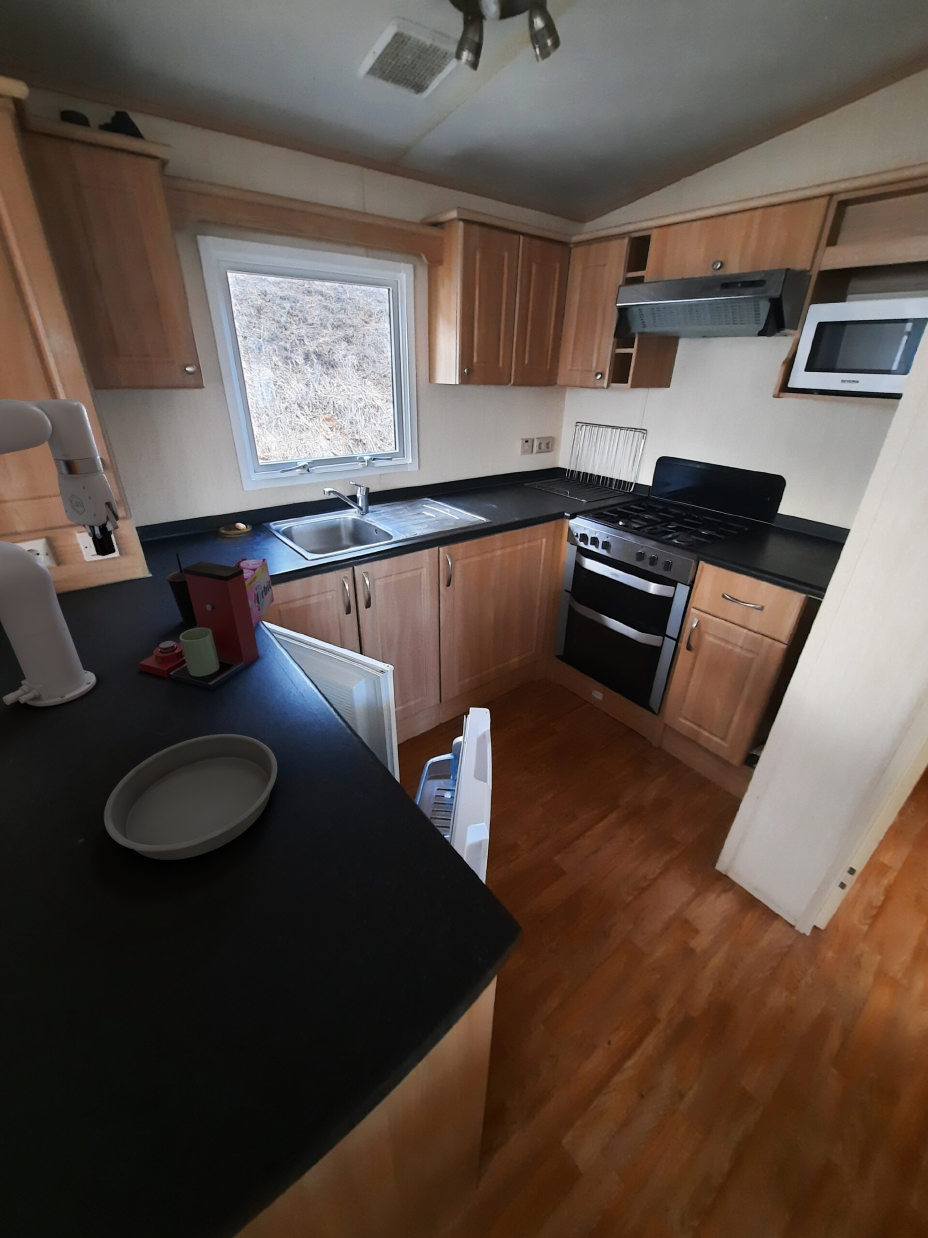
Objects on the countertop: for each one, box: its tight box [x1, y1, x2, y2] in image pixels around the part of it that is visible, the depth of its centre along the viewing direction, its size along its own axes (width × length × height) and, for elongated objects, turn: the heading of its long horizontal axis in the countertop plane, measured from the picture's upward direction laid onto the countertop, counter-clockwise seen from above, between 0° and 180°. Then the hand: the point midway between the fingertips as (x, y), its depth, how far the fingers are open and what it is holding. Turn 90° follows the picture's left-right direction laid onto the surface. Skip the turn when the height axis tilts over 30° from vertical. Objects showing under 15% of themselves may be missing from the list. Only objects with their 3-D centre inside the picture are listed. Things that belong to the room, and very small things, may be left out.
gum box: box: [232, 557, 275, 628], centre depth 141 cm, size 24×8×14 cm, turn 2°
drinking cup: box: [165, 552, 197, 626], centre depth 136 cm, size 8×8×20 cm
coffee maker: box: [169, 561, 260, 690], centre depth 114 cm, size 15×12×23 cm
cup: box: [179, 627, 220, 676], centre depth 114 cm, size 6×6×9 cm
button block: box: [138, 642, 186, 678], centre depth 120 cm, size 10×8×4 cm
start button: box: [158, 640, 176, 654], centre depth 119 cm, size 3×3×2 cm
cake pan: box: [103, 733, 278, 861], centre depth 81 cm, size 25×25×4 cm
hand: (106, 553), depth 109 cm, fingers closed
